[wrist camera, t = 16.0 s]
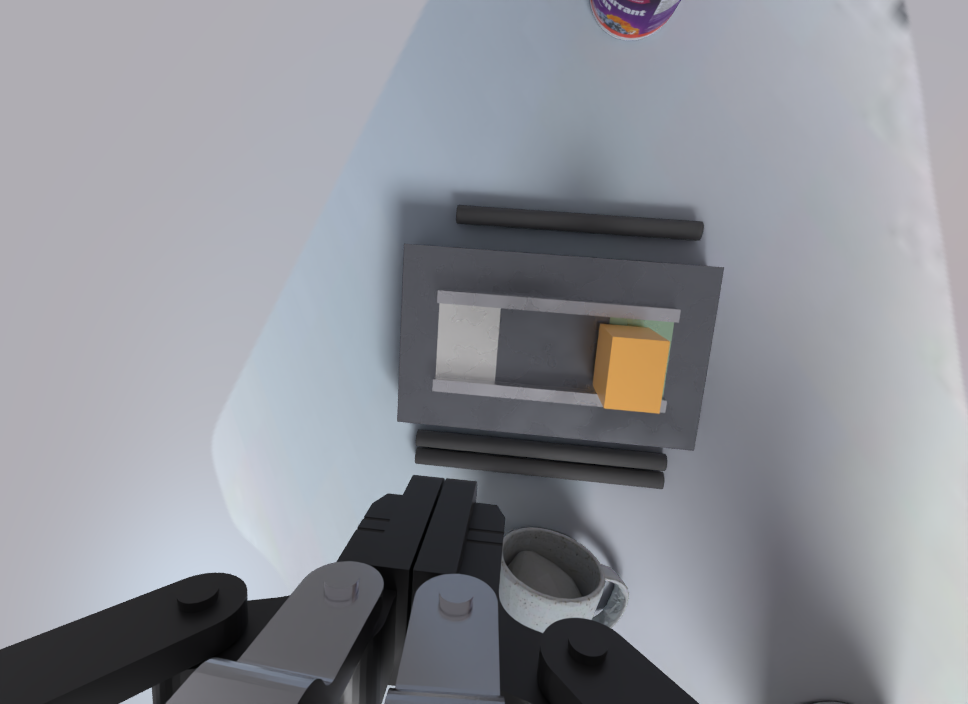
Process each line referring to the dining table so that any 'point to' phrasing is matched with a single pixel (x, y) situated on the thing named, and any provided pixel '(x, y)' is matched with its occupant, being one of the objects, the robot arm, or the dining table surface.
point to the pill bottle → (632, 16)
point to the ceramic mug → (555, 580)
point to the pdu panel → (547, 342)
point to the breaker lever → (630, 368)
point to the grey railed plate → (546, 449)
